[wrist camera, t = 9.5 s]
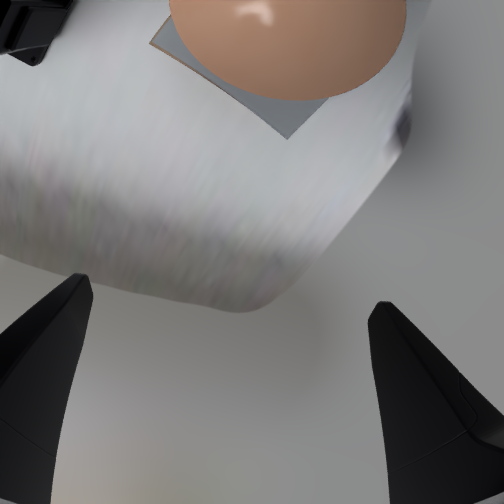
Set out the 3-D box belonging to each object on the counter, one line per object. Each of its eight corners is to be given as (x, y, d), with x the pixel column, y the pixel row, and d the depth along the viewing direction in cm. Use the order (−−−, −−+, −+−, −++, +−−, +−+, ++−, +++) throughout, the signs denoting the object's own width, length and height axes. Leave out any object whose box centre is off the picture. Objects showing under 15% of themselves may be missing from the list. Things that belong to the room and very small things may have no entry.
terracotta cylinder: (173, 27, 8) (121, 16, 4) (264, -63, 6) (279, -124, 2) (278, 104, 10) (302, 145, 6) (367, 21, 8) (443, 15, 4)
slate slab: (174, 42, 12) (151, 41, 9) (262, -48, 9) (268, -76, 6) (276, 117, 14) (286, 139, 11) (362, 34, 11) (397, 33, 8)
